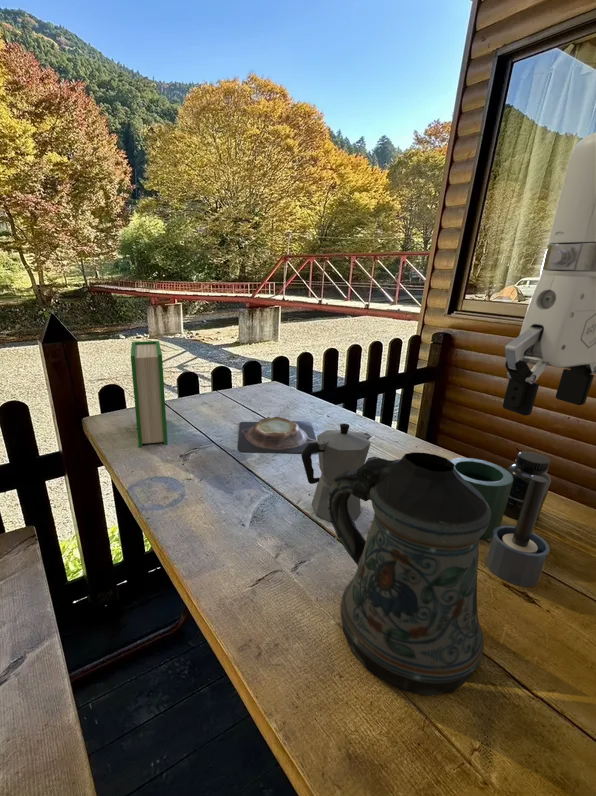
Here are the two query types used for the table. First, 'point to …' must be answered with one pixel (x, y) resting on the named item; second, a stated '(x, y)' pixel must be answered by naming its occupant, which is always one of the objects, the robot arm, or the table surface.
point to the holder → (516, 559)
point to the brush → (527, 517)
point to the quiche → (275, 435)
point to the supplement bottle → (525, 480)
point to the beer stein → (413, 571)
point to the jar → (487, 486)
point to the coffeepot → (335, 464)
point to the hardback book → (149, 392)
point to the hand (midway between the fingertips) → (543, 406)
